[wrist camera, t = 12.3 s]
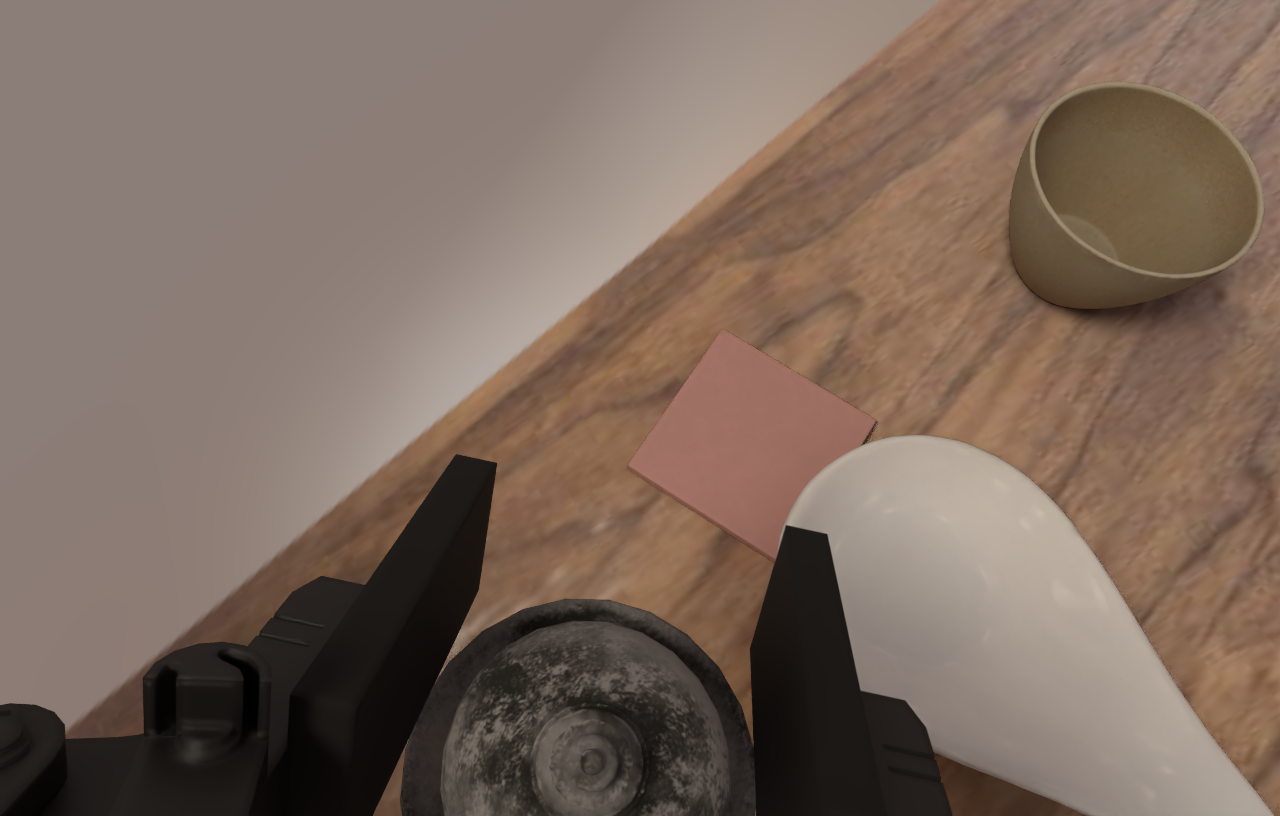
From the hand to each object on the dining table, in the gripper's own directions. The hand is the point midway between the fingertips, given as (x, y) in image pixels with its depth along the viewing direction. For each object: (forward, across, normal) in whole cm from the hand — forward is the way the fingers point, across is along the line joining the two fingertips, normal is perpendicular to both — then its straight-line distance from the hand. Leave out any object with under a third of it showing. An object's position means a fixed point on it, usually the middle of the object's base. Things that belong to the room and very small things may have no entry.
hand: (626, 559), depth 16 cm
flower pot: (+31, +18, +2) cm, 36 cm away
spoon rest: (+16, +16, -13) cm, 26 cm away
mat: (+22, +4, -6) cm, 24 cm away
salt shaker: (0, 0, -5) cm, 5 cm away
